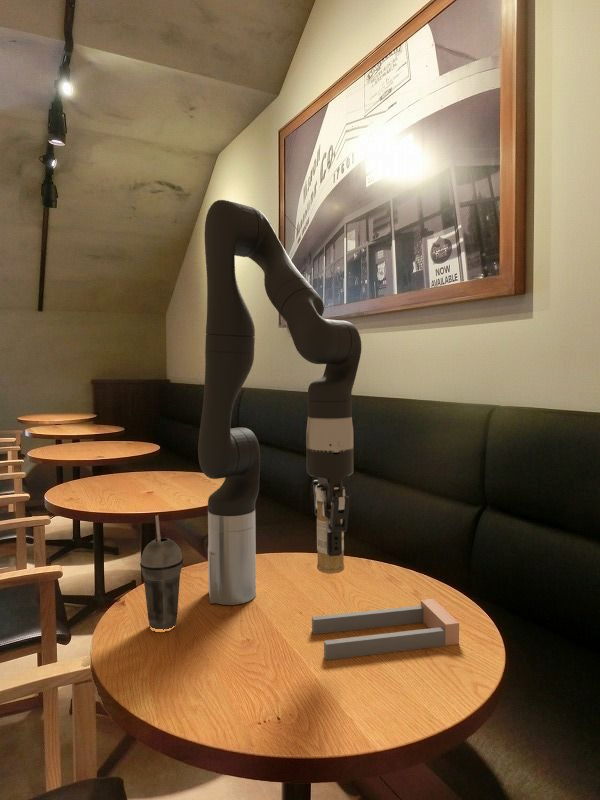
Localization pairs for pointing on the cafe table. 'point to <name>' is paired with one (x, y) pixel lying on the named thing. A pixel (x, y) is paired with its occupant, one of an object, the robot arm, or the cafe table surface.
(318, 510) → the sprinkles bottle
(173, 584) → the beverage cup
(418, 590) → the cafe table surface
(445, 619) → the guide channel
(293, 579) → the cafe table surface
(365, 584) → the cafe table surface
